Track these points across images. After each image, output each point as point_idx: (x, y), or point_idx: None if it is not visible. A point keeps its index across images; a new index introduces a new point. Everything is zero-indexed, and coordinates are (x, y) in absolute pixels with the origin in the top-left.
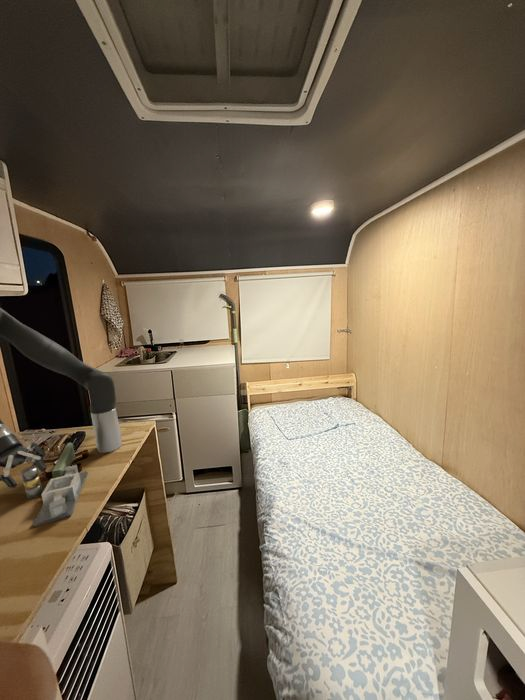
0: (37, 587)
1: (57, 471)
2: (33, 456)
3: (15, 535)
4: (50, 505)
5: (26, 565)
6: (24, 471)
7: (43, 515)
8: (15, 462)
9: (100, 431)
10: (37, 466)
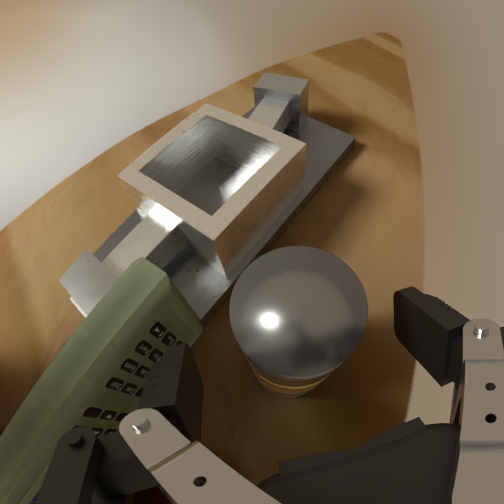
0: (365, 44)
1: (150, 264)
2: (167, 459)
3: (398, 155)
4: (302, 84)
5: (378, 74)
6: (340, 311)
7: (321, 143)
8: (407, 445)
9: None
10: (198, 425)
